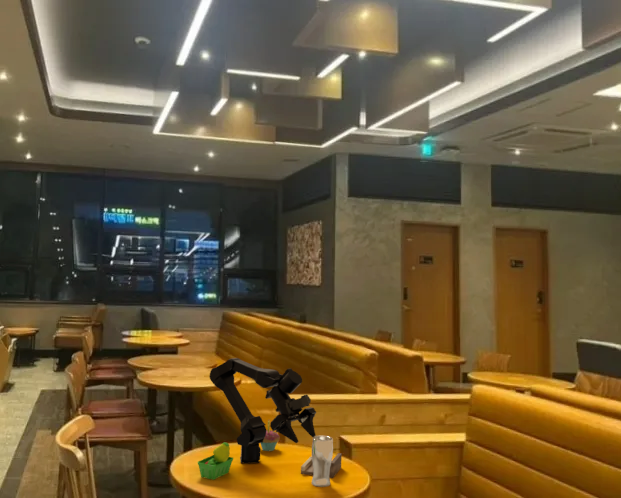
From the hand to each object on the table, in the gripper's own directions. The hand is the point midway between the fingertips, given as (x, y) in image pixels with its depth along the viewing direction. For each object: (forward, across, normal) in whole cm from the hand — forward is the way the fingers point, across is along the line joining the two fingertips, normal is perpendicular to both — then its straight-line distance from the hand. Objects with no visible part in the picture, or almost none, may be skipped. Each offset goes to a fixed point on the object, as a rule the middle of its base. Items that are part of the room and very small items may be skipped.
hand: (306, 439), depth 213 cm
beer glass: (+14, 0, +4) cm, 15 cm away
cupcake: (-13, +15, +31) cm, 37 cm away
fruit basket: (-7, -19, +26) cm, 32 cm away
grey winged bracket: (+8, +11, +10) cm, 17 cm away
